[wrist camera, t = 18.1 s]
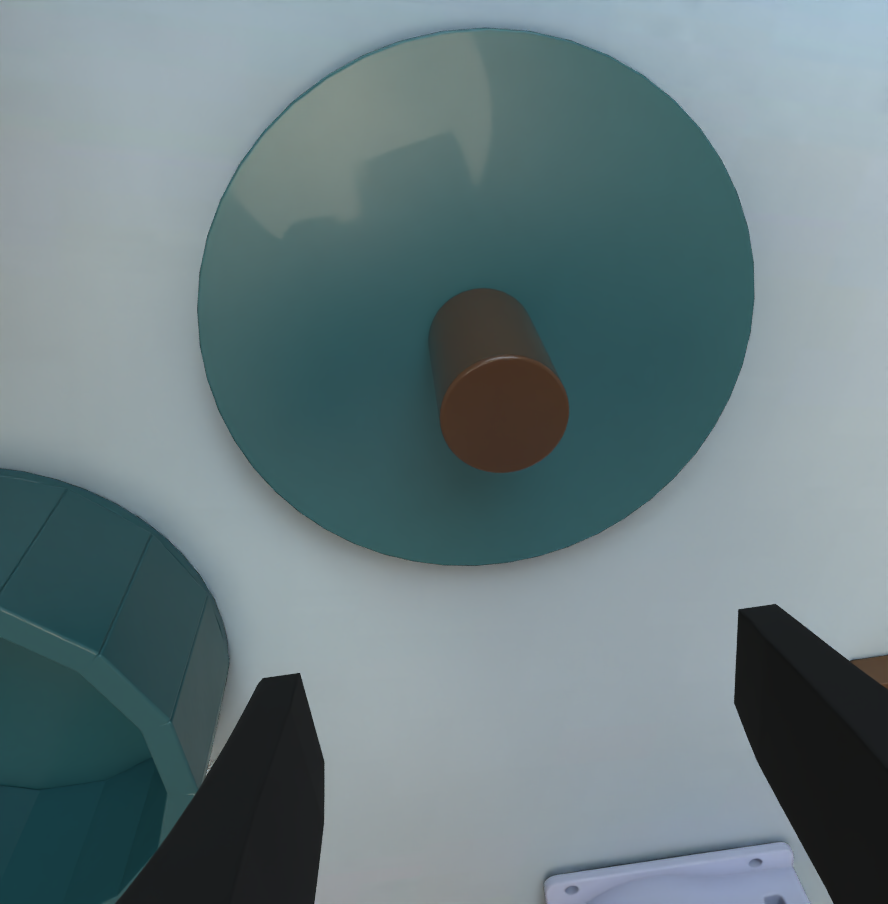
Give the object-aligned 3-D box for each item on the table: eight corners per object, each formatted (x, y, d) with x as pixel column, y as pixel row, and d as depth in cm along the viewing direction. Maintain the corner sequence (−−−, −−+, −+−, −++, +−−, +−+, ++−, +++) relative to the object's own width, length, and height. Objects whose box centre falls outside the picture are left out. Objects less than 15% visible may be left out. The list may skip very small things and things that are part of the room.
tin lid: (749, -16, 18) (886, -26, 13) (730, 507, 25) (817, 632, 20) (134, 75, 18) (42, 99, 13) (274, 575, 25) (247, 716, 20)
